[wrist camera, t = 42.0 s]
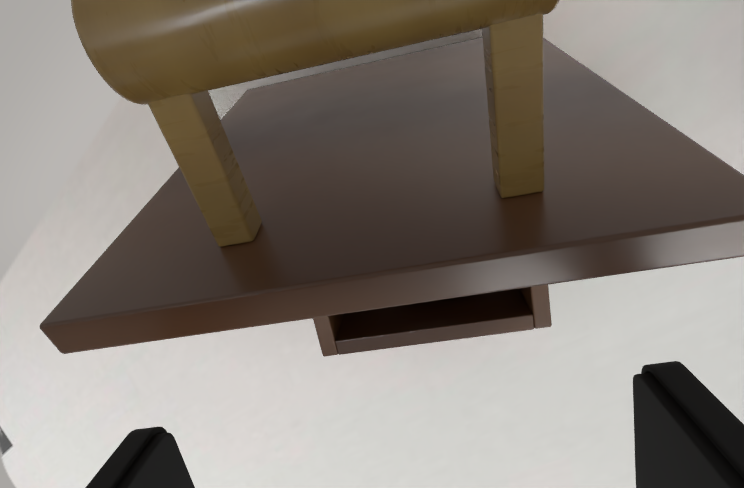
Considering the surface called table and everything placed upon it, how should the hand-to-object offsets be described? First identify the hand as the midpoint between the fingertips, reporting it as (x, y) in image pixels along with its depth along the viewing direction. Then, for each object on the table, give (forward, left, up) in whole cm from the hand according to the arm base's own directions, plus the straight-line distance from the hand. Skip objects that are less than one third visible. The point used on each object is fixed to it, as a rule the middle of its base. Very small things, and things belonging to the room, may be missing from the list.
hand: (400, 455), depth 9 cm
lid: (-3, +5, -5) cm, 8 cm away
